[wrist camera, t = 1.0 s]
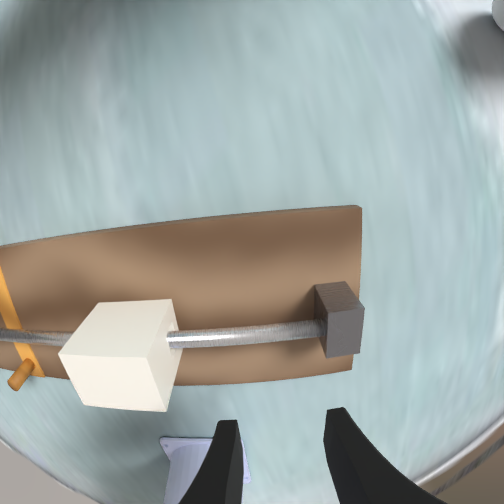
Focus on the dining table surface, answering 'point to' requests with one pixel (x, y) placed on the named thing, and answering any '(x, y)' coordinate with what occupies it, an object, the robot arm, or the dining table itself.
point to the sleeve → (124, 355)
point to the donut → (498, 12)
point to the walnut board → (188, 287)
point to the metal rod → (257, 327)
